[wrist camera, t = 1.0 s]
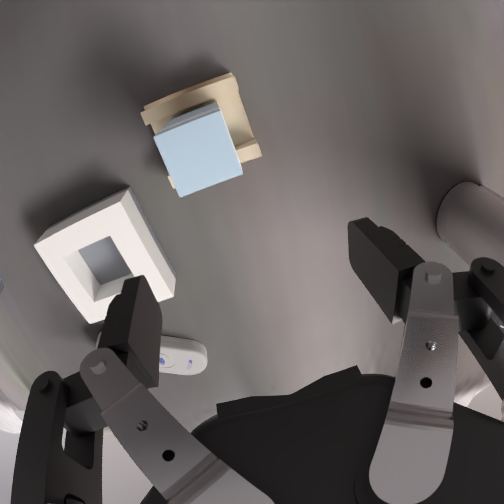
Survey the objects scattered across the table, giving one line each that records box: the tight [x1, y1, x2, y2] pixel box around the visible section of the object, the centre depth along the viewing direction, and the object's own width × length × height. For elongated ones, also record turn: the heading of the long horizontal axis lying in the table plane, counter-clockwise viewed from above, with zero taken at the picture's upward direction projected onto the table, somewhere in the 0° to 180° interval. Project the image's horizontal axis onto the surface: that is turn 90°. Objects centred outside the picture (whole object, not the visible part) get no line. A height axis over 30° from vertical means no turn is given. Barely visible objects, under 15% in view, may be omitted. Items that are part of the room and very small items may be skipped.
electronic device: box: [96, 332, 207, 375], centre depth 36 cm, size 5×10×15 cm
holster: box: [141, 73, 262, 189], centre depth 25 cm, size 8×8×3 cm
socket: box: [34, 186, 176, 324], centre depth 30 cm, size 11×11×4 cm
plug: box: [153, 101, 243, 197], centre depth 21 cm, size 4×4×10 cm
